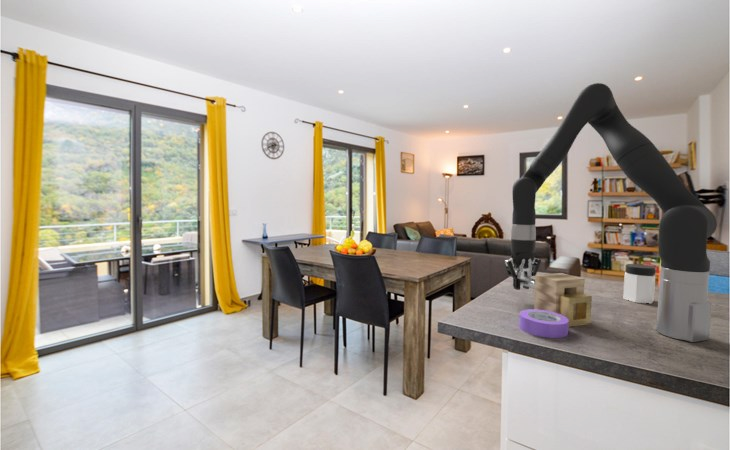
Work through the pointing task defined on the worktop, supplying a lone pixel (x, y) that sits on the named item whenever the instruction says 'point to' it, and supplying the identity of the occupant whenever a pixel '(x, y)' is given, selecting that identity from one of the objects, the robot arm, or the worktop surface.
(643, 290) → the jar
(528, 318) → the masking tape
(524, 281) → the shaft
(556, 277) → the tan wooden block
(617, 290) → the worktop surface
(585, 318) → the block
